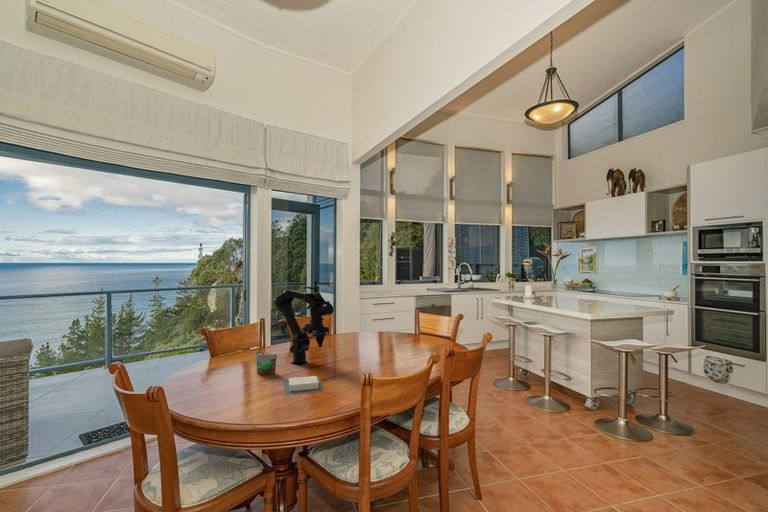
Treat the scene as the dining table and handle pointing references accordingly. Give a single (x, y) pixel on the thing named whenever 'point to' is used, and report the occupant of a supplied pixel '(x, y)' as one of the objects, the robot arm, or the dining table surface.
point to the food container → (265, 363)
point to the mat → (287, 392)
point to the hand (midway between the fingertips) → (320, 347)
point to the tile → (303, 383)
